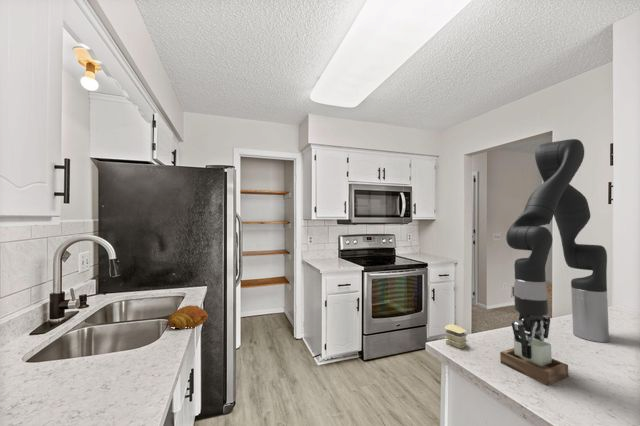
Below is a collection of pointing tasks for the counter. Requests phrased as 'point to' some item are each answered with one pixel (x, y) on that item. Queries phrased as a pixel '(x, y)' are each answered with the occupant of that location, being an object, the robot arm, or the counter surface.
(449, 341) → the stacked layers on plate
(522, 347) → the robot arm
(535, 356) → the box
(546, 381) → the big crate
